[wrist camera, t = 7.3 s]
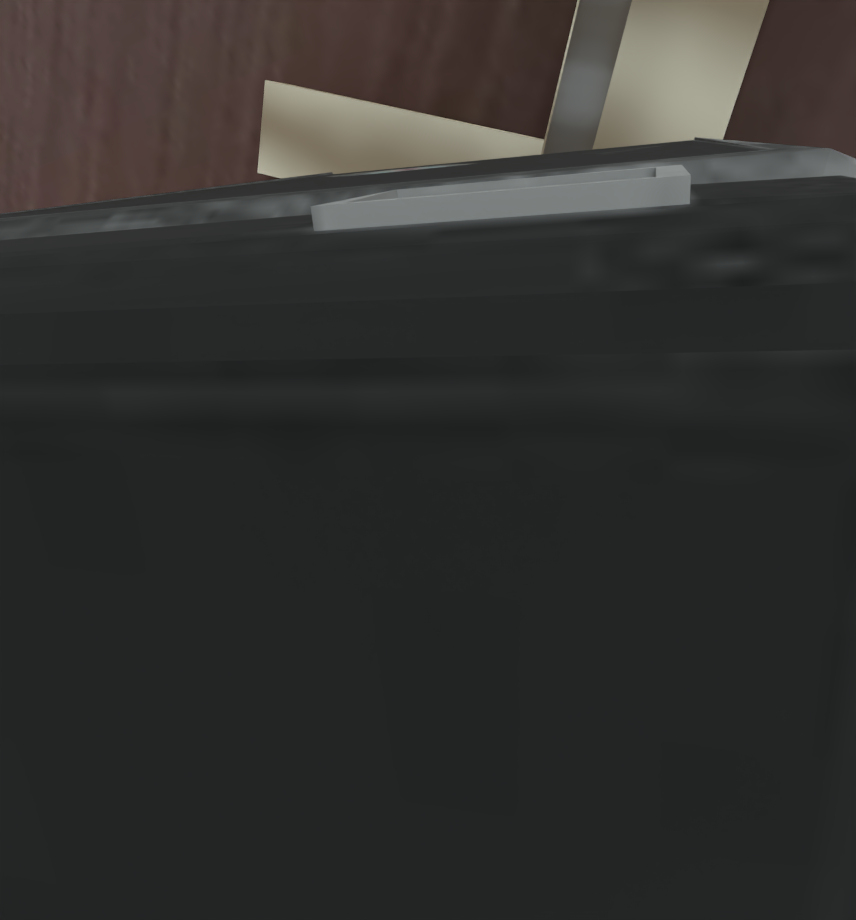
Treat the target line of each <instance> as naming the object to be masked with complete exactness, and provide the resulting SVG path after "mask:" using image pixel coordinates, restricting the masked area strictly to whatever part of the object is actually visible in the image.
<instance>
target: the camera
mask: <svg viewBox="0 0 856 920" xmlns="http://www.w3.org/2000/svg"><path fill="white" fill-rule="evenodd" d="M0 920H856V159H855V158H853V157H850V156H848V155H845V154H843V153H841V152H838V151H836V150H833V149H831V148H819V147H807V146H795V145H782V144H770V143H758V142H746V141H734V140H722V139H710V138H698V137H695V138H694V140H688V141H678V142H667V143H657V144H646V145H635V146H625V147H614V148H604V149H593V150H583V151H572V152H562V153H551V154H541V155H530V156H520V157H509V158H499V159H488V160H477V161H467V162H456V163H446V164H435V165H425V166H414V167H404V168H393V169H383V170H372V171H362V172H351V173H340V174H333V173H332V172H329V173H321V174H313V175H305V176H297V177H289V178H281V179H273V180H265V181H257V182H249V183H241V184H233V185H225V186H217V187H209V188H201V189H193V190H185V191H177V192H169V193H161V194H153V195H146V196H138V197H130V198H122V199H114V200H106V201H98V202H90V203H82V204H74V205H66V206H58V207H50V208H42V209H34V210H26V211H18V212H10V213H2V214H0Z"/></svg>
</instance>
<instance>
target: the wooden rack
mask: <svg viewBox="0 0 856 920" xmlns="http://www.w3.org/2000/svg"><path fill="white" fill-rule="evenodd" d="M768 3H769V0H577V5H576V9H575V13H574V17H573V21H572V26H571V30H570V34H569V38H568V42H567V47H566V51H565V55H564V59H563V63H562V68H561V72H560V76H559V80H558V84H557V89H556V93H555V97H554V101H553V105H552V110H551V114H550V118H549V122H548V126H547V131H546V135H545V139H540V138H536V137H531V136H527V135H522V134H517V133H513V132H508V131H503V130H499V129H494V128H490V127H485V126H480V125H476V124H471V123H467V122H462V121H457V120H453V119H448V118H443V117H439V116H434V115H430V114H425V113H420V112H416V111H411V110H407V109H402V108H397V107H393V106H388V105H383V104H379V103H374V102H370V101H365V100H360V99H356V98H351V97H346V96H342V95H337V94H333V93H328V92H323V91H319V90H314V89H310V88H305V87H300V86H296V85H291V84H286V83H281V82H274V81H268V80H265V88H264V100H263V112H262V124H261V136H260V148H259V160H258V172H257V173H261V174H265V175H269V176H273V177H277V178H289V177H297V176H305V175H313V174H321V173H329V172H332V173H333V174H340V173H351V172H362V171H372V170H383V169H393V168H404V167H414V166H425V165H435V164H446V163H456V162H467V161H477V160H488V159H499V158H509V157H520V156H530V155H541V154H551V153H562V152H572V151H583V150H593V149H604V148H614V147H625V146H635V145H646V144H657V143H667V142H678V141H688V140H694V138H695V137H698V138H710V139H722V140H723V137H724V134H725V131H726V128H727V125H728V122H729V119H730V117H731V114H732V111H733V108H734V105H735V102H736V99H737V96H738V93H739V90H740V87H741V84H742V81H743V78H744V75H745V72H746V69H747V66H748V63H749V60H750V57H751V54H752V51H753V48H754V45H755V42H756V39H757V36H758V33H759V30H760V27H761V24H762V21H763V18H764V15H765V12H766V9H767V6H768Z"/></svg>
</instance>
